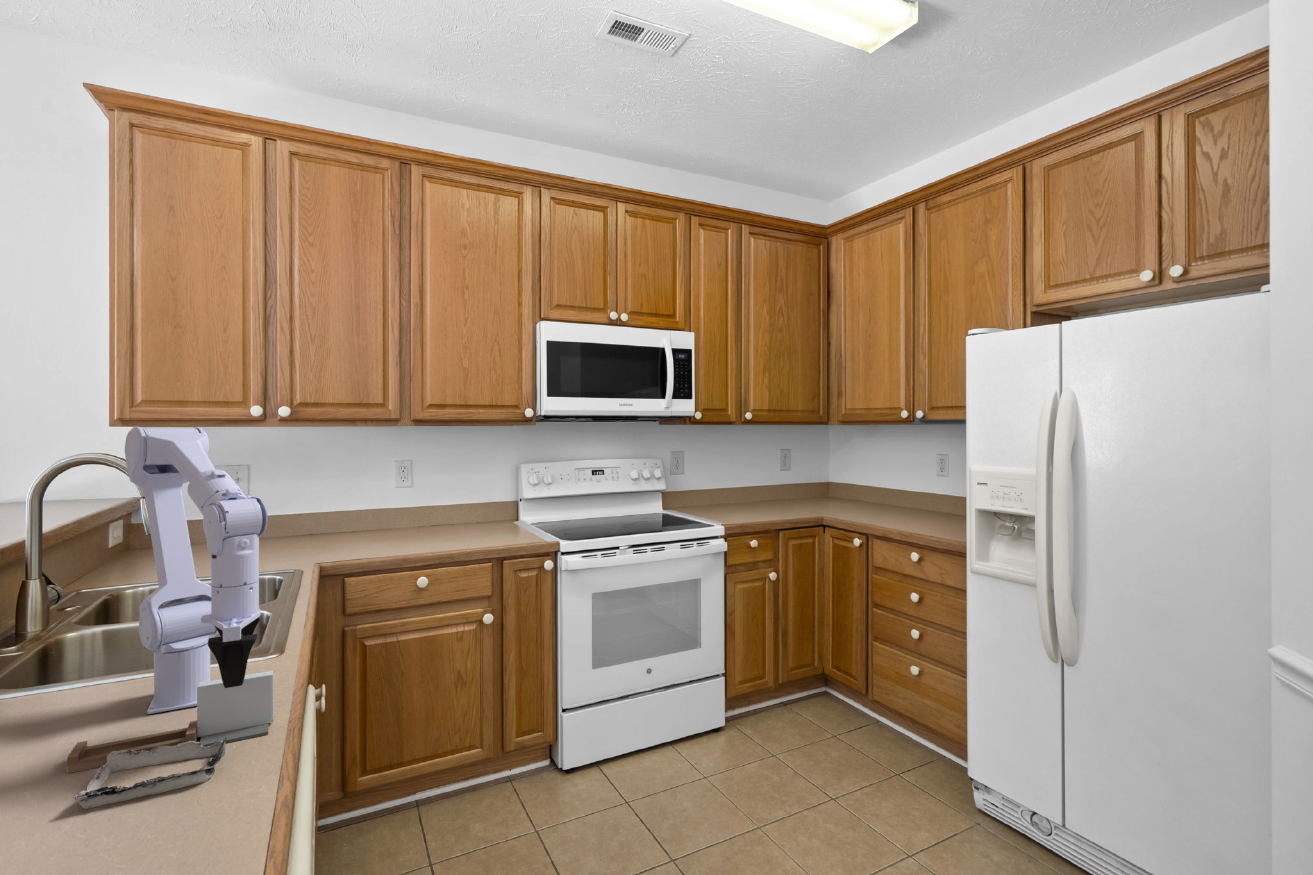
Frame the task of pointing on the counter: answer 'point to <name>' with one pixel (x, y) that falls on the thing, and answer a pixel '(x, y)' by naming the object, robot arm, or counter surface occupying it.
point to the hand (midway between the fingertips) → (235, 676)
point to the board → (234, 704)
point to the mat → (235, 734)
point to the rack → (126, 747)
